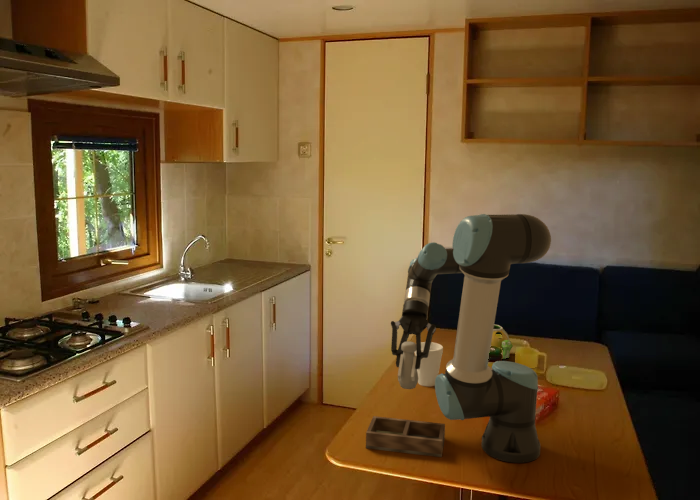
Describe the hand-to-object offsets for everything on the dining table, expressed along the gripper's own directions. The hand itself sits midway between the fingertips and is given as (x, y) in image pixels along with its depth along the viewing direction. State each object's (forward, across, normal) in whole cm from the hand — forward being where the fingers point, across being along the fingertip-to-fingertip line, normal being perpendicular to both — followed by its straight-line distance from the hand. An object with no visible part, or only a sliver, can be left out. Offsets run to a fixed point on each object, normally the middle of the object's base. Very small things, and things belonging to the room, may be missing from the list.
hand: (406, 378), depth 171 cm
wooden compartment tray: (+16, -1, -6) cm, 17 cm away
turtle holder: (-39, -23, -62) cm, 77 cm away
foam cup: (-16, -2, -39) cm, 42 cm away
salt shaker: (0, 0, -6) cm, 6 cm away
